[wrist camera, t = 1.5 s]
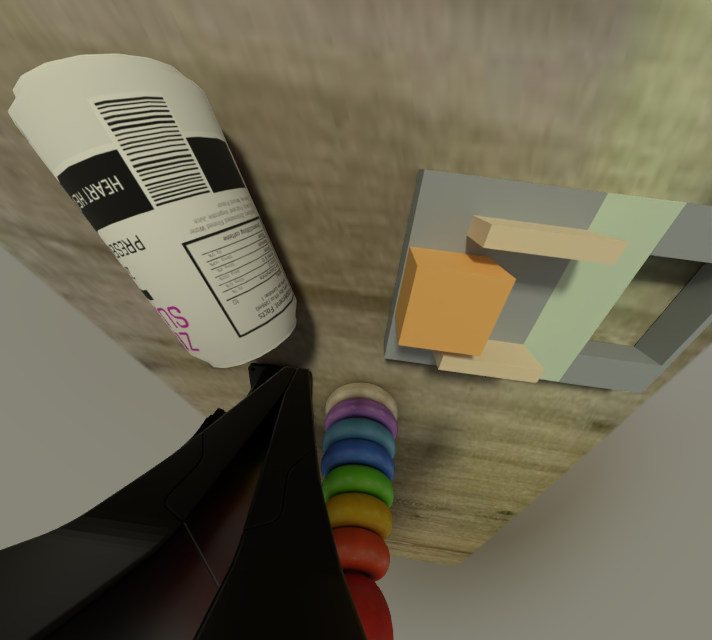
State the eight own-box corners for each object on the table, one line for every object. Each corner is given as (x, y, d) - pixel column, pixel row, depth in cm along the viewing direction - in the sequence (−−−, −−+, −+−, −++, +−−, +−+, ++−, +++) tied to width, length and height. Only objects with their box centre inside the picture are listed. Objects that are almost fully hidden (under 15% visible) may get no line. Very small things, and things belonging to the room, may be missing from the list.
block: (462, 323, 19) (480, 356, 16) (394, 314, 19) (398, 344, 16) (488, 256, 17) (516, 279, 13) (409, 246, 17) (417, 266, 13)
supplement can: (212, 100, 17) (299, 300, 24) (79, 136, 16) (212, 334, 23) (166, 22, 10) (310, 340, 17) (-83, 78, 8) (184, 392, 16)
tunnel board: (617, 373, 24) (677, 423, 19) (383, 341, 24) (384, 383, 19) (756, 212, 16) (908, 229, 12) (418, 169, 17) (434, 169, 12)
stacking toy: (316, 412, 30) (243, 696, 14) (344, 367, 26) (288, 690, 10) (375, 435, 31) (372, 719, 15) (411, 395, 27) (457, 722, 11)
